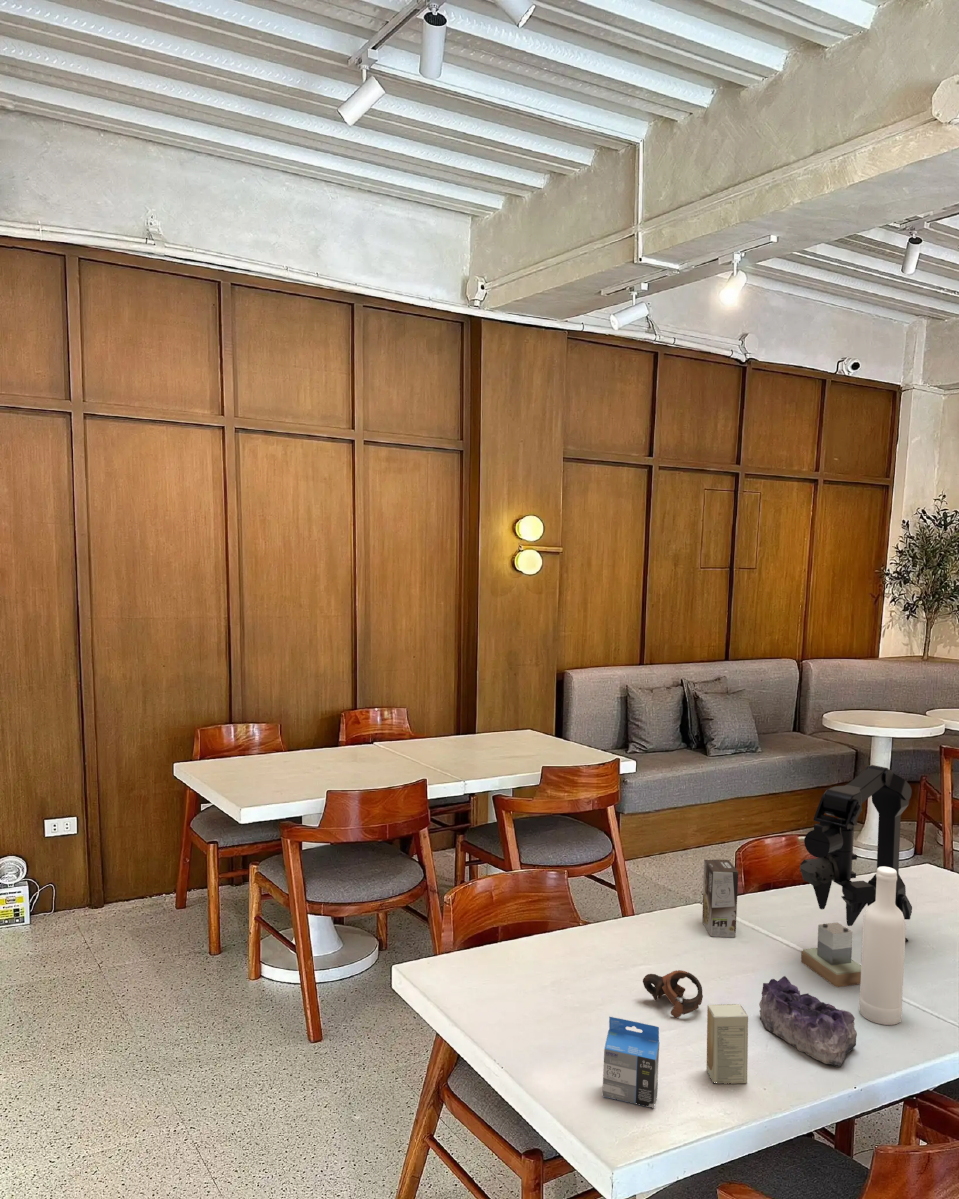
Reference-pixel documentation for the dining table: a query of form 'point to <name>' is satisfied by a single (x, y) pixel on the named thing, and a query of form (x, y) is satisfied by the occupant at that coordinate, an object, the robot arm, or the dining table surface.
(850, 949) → the block
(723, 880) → the coffee box
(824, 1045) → the geode
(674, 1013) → the brown curved loop piece
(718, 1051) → the skincare box
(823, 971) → the riser
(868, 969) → the bottle
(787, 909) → the dining table surface
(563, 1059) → the dining table surface
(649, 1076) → the label tape box
